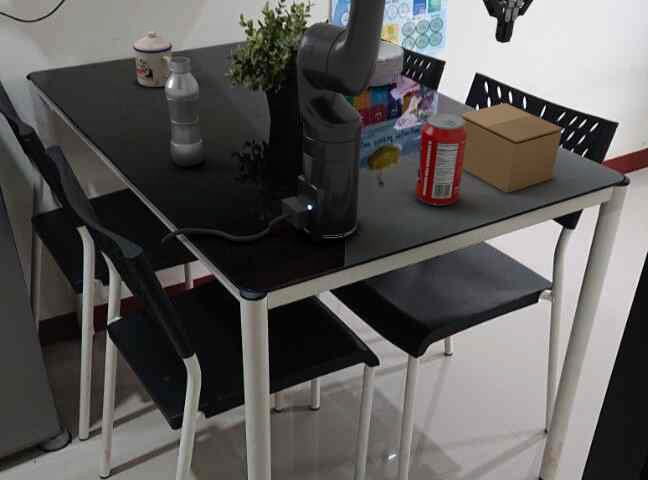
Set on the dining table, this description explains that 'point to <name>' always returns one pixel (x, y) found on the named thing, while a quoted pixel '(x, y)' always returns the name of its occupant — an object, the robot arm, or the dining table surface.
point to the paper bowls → (387, 64)
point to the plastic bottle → (184, 113)
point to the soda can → (441, 159)
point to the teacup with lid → (153, 60)
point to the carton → (512, 152)
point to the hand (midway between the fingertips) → (502, 41)
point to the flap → (495, 115)
